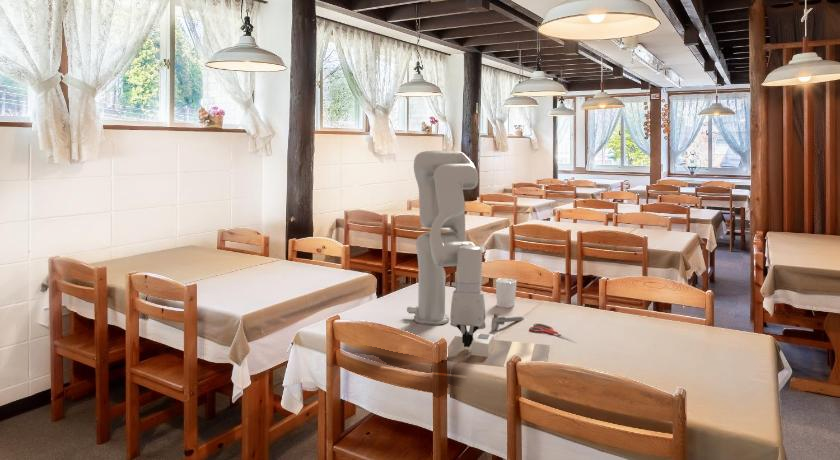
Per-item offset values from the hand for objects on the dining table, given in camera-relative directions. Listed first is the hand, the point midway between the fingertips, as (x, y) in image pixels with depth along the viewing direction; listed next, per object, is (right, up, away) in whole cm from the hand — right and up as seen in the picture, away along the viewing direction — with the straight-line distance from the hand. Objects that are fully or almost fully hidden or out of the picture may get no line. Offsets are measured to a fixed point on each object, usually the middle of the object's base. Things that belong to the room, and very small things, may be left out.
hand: (467, 345), depth 178 cm
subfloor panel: (+9, -2, -2) cm, 9 cm away
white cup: (+19, +5, +51) cm, 54 cm away
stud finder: (+4, -1, -1) cm, 5 cm away
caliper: (+16, +2, +26) cm, 31 cm away
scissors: (+31, 0, +16) cm, 35 cm away
